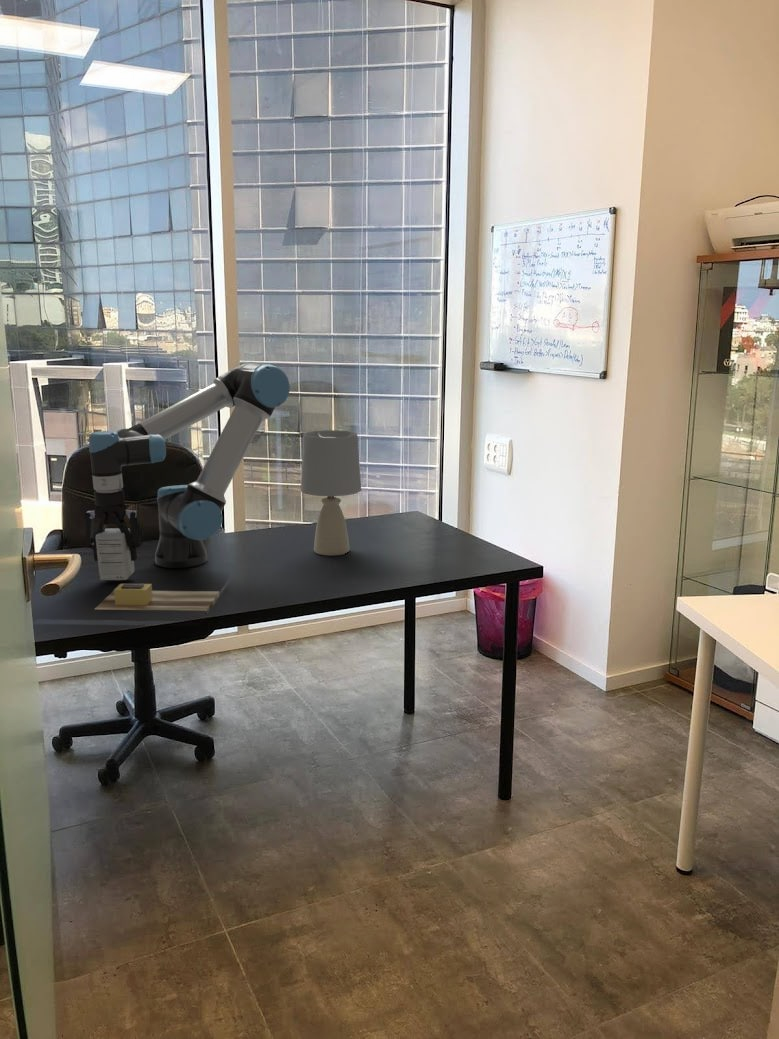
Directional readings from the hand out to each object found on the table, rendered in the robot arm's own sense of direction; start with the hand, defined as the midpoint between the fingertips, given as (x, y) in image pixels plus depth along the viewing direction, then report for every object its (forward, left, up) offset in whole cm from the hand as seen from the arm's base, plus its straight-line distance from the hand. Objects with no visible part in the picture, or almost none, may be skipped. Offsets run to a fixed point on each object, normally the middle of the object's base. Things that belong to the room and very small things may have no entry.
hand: (117, 571), depth 235 cm
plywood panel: (+15, +15, -4) cm, 22 cm away
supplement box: (0, 0, -1) cm, 1 cm away
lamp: (-37, +55, -4) cm, 67 cm away
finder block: (+16, +10, -3) cm, 19 cm away
